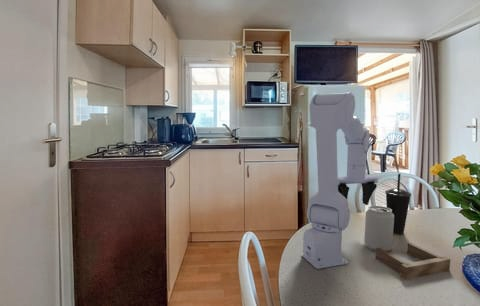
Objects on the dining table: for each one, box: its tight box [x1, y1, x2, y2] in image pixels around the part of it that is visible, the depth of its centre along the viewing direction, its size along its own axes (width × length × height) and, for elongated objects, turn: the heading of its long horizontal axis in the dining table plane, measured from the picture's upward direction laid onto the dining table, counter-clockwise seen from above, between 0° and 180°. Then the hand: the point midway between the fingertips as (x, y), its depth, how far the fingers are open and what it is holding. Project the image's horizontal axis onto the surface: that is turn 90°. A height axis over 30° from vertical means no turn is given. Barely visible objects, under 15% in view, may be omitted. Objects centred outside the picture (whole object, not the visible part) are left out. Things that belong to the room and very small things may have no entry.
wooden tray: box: [374, 242, 451, 281], centre depth 73 cm, size 14×10×3 cm
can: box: [363, 205, 394, 252], centre depth 83 cm, size 8×8×12 cm
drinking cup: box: [385, 173, 412, 236], centre depth 94 cm, size 8×8×20 cm
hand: (354, 204), depth 94 cm, fingers open, 7 cm apart
